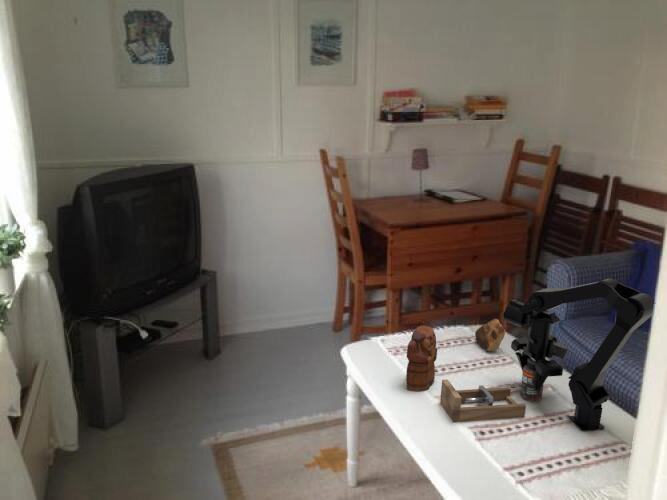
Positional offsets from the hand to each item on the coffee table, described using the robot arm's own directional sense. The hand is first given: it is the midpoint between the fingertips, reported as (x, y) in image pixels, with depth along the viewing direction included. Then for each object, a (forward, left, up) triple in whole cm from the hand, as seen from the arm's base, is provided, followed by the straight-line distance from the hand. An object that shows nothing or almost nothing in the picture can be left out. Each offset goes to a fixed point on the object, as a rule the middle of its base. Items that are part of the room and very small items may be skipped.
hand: (532, 384), depth 168 cm
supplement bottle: (0, 0, -4) cm, 4 cm away
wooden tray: (-5, +17, -4) cm, 18 cm away
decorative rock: (+33, -2, -4) cm, 33 cm away
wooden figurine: (+11, +29, -4) cm, 31 cm away
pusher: (-5, +19, -3) cm, 20 cm away
